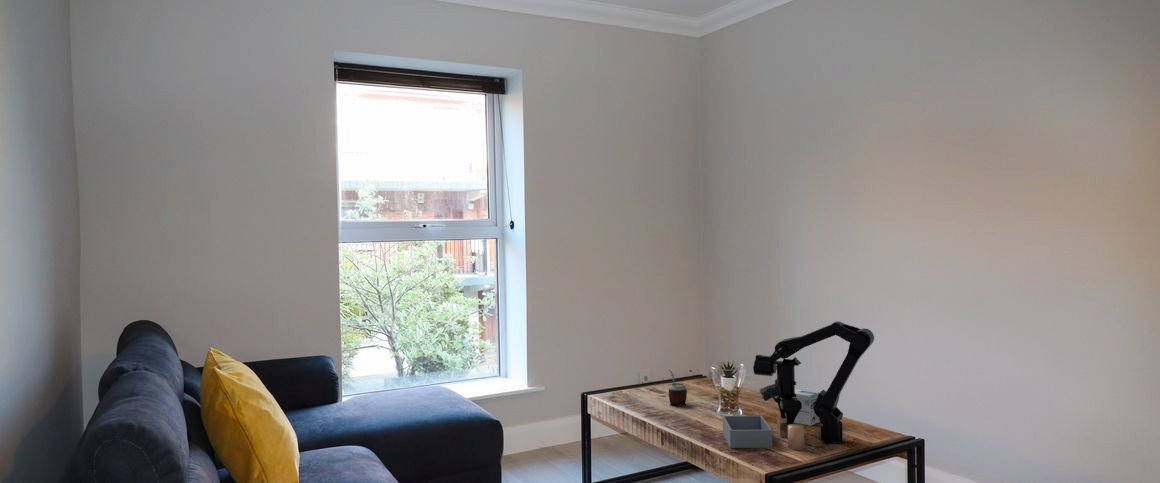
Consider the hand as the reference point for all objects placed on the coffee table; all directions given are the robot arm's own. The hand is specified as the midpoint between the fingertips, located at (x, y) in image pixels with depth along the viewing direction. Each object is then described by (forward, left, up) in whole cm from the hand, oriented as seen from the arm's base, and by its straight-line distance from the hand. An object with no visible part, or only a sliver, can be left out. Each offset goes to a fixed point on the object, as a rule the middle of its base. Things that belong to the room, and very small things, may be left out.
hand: (786, 423), depth 254 cm
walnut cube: (0, 0, -4) cm, 4 cm away
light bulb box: (-9, -16, -4) cm, 19 cm away
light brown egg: (0, +14, -4) cm, 14 cm away
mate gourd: (+33, -40, -4) cm, 52 cm away
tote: (+14, +5, -4) cm, 15 cm away
